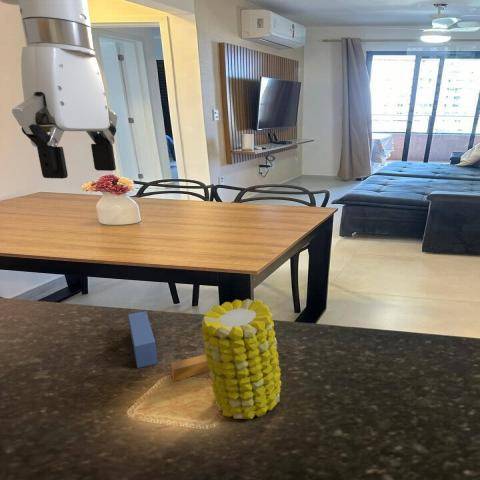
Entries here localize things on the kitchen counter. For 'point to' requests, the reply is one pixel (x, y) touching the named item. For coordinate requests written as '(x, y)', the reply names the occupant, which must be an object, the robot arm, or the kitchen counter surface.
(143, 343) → the blue stick
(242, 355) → the food
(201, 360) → the tan wooden bar
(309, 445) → the kitchen counter surface
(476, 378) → the kitchen counter surface
